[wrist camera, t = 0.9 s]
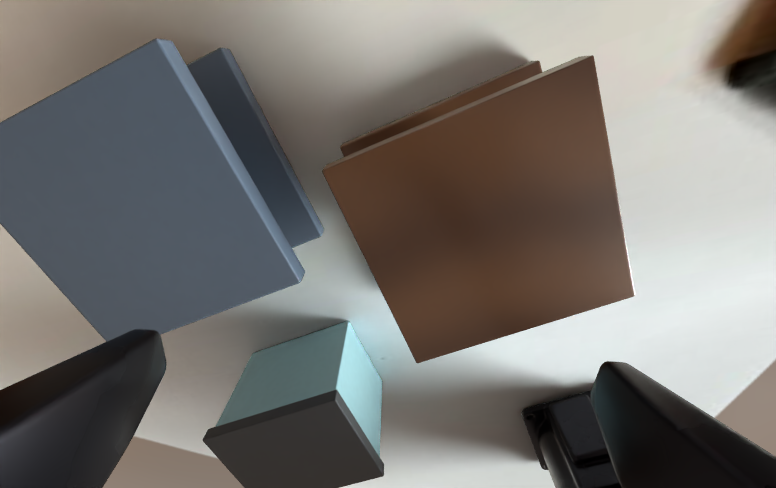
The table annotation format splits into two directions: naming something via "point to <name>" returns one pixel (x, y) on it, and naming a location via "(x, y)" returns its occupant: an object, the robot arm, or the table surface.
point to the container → (304, 415)
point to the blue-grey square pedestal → (154, 192)
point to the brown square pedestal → (489, 208)
